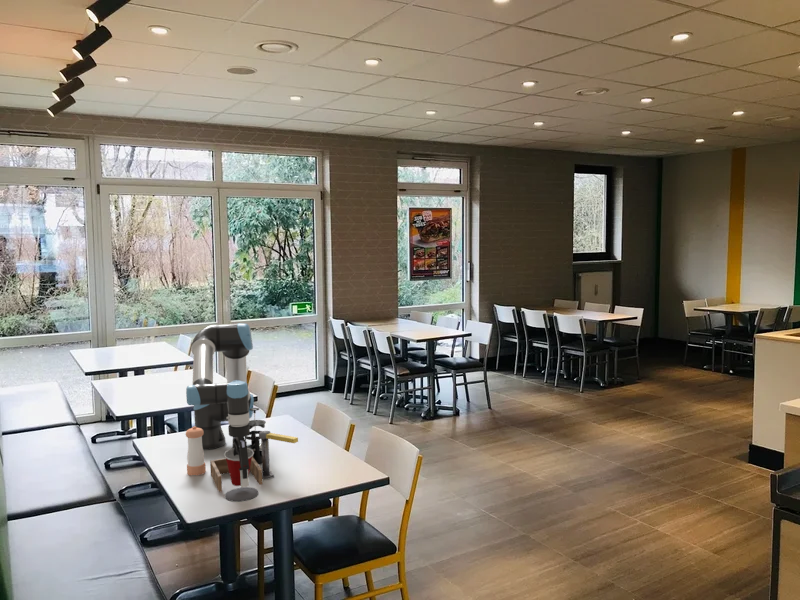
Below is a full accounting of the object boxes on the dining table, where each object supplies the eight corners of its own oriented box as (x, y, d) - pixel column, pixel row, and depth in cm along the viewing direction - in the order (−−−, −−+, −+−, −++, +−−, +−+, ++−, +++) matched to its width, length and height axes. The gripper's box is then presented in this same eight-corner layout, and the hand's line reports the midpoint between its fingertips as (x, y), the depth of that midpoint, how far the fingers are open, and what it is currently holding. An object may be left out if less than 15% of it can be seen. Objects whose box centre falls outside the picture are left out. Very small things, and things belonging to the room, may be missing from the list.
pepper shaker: (204, 474, 262) (202, 428, 260) (185, 476, 260) (183, 429, 259) (206, 468, 269) (204, 423, 267) (188, 470, 268) (186, 424, 266)
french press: (269, 463, 274) (267, 410, 272) (247, 466, 270) (245, 412, 268) (264, 455, 285) (262, 403, 283) (243, 458, 281) (240, 406, 279)
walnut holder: (210, 475, 261) (210, 460, 261) (251, 468, 268) (251, 454, 268) (218, 492, 243) (218, 476, 242) (262, 484, 250) (261, 469, 249)
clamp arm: (292, 444, 247) (292, 439, 247) (256, 438, 256) (256, 433, 256) (299, 441, 251) (299, 436, 250) (264, 435, 260) (264, 430, 260)
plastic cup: (231, 491, 235) (230, 460, 233) (220, 481, 243) (219, 451, 242) (259, 484, 241) (258, 453, 239) (248, 475, 250) (247, 445, 248)
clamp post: (258, 475, 260) (257, 437, 258) (271, 473, 262) (269, 436, 260) (261, 479, 255) (259, 441, 254) (273, 477, 257) (272, 439, 256)
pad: (222, 492, 243) (222, 490, 243) (254, 486, 248) (254, 485, 247) (228, 503, 232) (228, 502, 232) (261, 497, 237) (261, 496, 237)
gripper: (222, 417, 247) (225, 471, 249) (234, 434, 224) (237, 493, 227) (242, 414, 250) (244, 468, 252) (256, 431, 228) (258, 490, 230)
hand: (241, 480), depth 239 cm, fingers open, 13 cm apart
